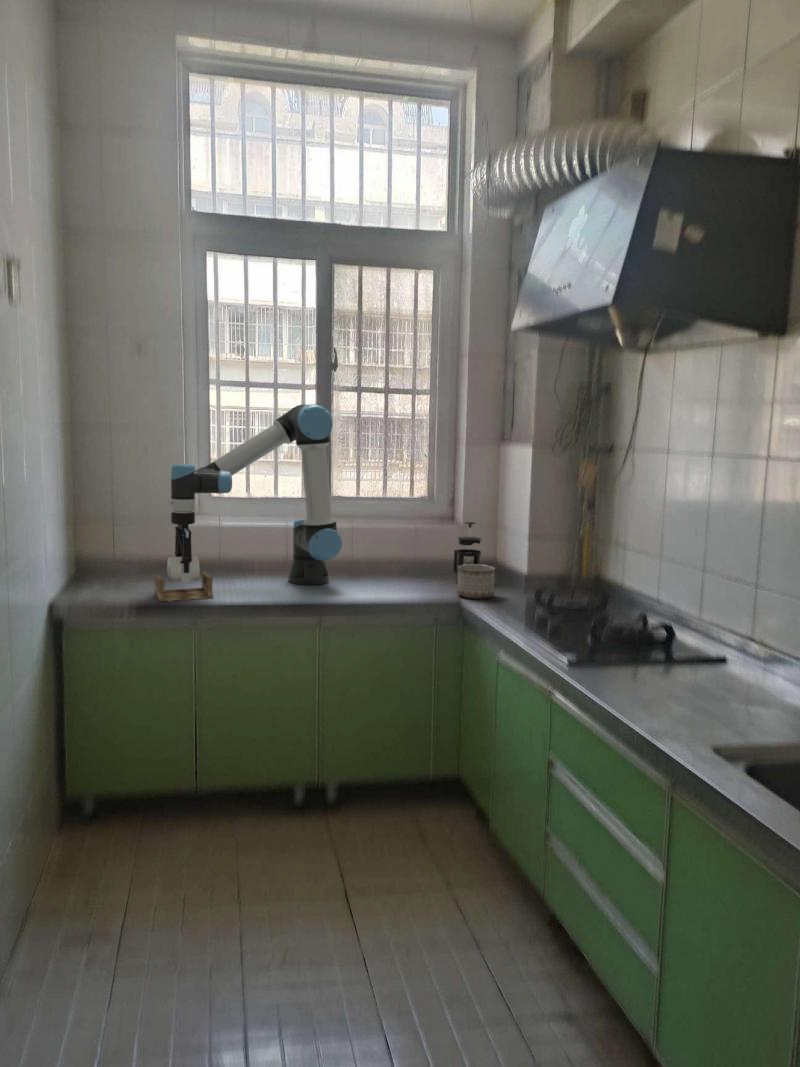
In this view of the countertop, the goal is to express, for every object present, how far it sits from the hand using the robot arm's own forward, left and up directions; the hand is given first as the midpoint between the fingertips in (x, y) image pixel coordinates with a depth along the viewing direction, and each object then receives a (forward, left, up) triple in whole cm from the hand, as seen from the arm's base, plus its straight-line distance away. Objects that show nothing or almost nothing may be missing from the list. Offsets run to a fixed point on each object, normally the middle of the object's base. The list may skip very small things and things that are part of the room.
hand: (183, 579), depth 273 cm
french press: (-104, +8, -6) cm, 105 cm away
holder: (0, 0, -6) cm, 6 cm away
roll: (0, 0, 0) cm, 0 cm away
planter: (-94, +31, -6) cm, 99 cm away
